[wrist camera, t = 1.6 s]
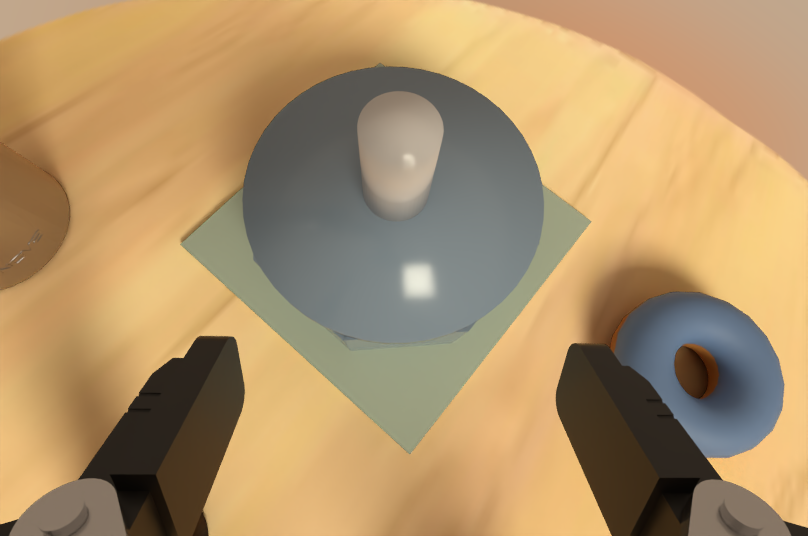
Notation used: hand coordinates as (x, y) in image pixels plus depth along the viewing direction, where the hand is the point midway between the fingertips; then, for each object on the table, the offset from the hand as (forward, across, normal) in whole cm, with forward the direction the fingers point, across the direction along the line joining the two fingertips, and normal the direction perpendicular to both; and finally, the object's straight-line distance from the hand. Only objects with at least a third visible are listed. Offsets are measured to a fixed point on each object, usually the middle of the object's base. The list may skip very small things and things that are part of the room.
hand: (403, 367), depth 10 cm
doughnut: (+13, -19, +12) cm, 26 cm away
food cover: (+19, 0, +5) cm, 20 cm away
